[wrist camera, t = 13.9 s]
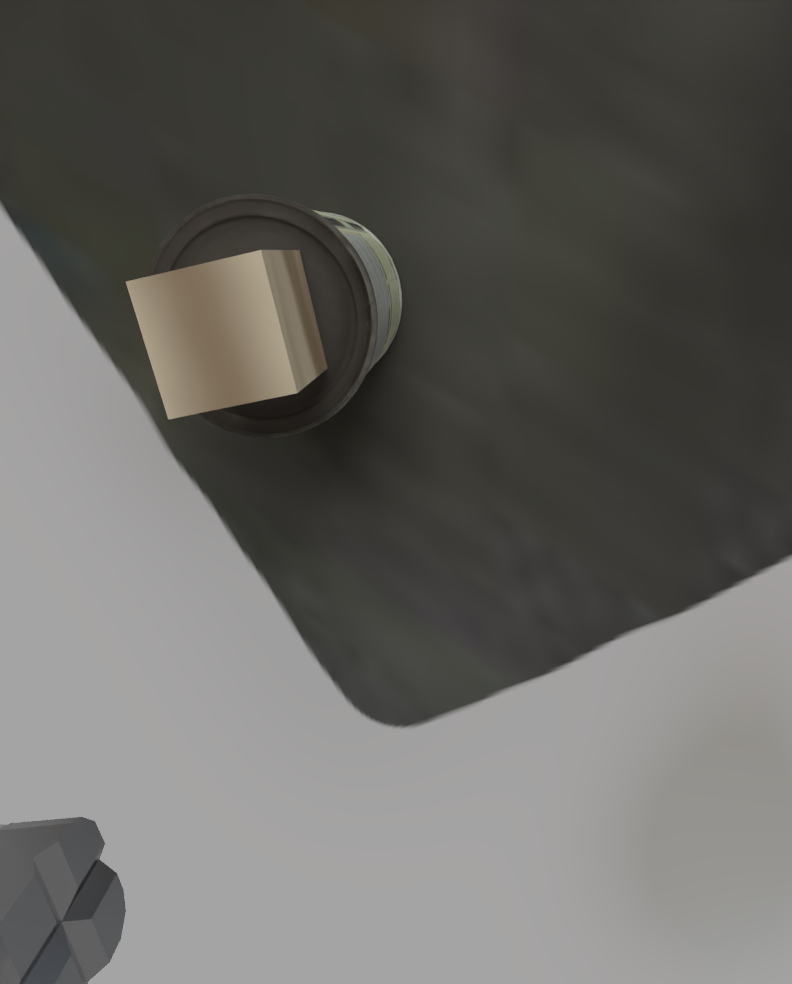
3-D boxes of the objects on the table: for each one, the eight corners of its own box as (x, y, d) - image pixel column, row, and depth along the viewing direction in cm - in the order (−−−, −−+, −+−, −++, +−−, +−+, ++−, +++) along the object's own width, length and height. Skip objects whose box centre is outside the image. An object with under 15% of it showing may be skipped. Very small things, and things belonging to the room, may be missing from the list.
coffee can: (287, 411, 48) (215, 473, 34) (208, 259, 45) (98, 263, 32) (432, 342, 45) (417, 380, 32) (358, 179, 43) (307, 146, 30)
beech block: (299, 250, 31) (260, 249, 25) (327, 368, 32) (297, 393, 27) (187, 276, 32) (125, 281, 26) (220, 390, 33) (168, 419, 27)
